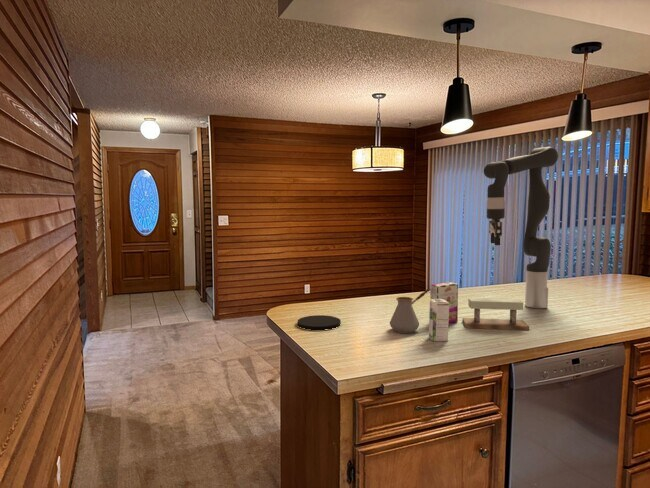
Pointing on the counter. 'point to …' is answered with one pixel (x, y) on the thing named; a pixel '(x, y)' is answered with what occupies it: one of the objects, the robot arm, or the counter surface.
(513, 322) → the peg rack
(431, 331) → the syrup box
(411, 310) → the coffee pot
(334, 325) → the wireless charger
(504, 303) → the shelf board
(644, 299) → the counter surface
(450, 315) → the candy bar box
